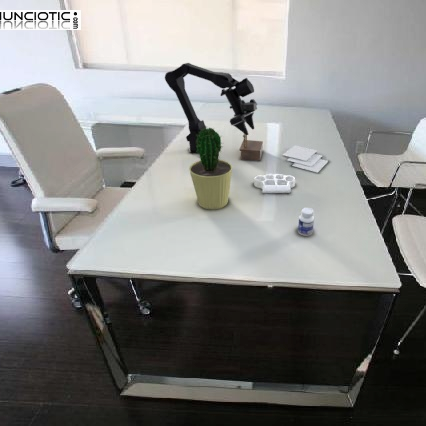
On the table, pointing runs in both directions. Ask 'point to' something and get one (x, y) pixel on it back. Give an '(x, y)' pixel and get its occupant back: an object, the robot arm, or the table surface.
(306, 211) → the pill bottle
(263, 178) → the white brass knuckles
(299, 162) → the paper stack
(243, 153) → the box
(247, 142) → the lid
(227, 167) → the potted cactus
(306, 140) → the table surface
